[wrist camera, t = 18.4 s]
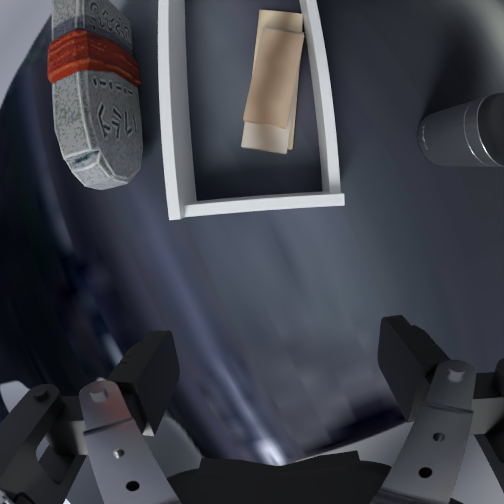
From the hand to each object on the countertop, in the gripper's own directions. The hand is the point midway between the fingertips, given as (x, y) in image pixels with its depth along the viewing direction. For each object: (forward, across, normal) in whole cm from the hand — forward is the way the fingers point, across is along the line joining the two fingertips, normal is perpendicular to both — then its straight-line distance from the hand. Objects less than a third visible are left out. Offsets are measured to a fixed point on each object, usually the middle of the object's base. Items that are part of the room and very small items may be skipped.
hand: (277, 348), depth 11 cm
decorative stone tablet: (+38, +22, -22) cm, 50 cm away
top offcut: (+35, -2, -21) cm, 41 cm away
